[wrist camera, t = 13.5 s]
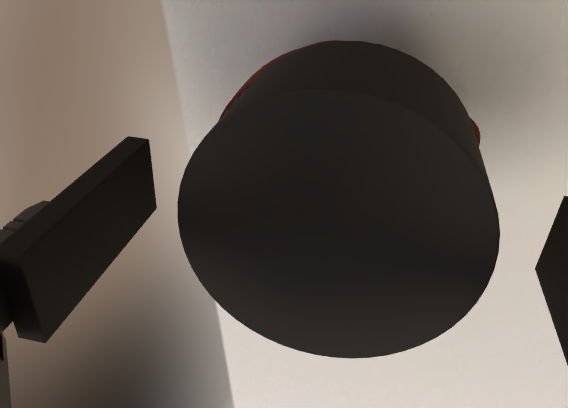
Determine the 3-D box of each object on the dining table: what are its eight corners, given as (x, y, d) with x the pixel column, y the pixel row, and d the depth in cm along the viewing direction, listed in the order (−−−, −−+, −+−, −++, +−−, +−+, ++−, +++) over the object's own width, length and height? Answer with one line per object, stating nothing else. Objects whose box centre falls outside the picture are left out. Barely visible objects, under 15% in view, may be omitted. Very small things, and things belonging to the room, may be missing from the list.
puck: (189, 182, 20) (131, 255, 16) (314, -20, 15) (279, 8, 11) (368, 300, 21) (359, 398, 17) (537, 147, 16) (582, 231, 12)
